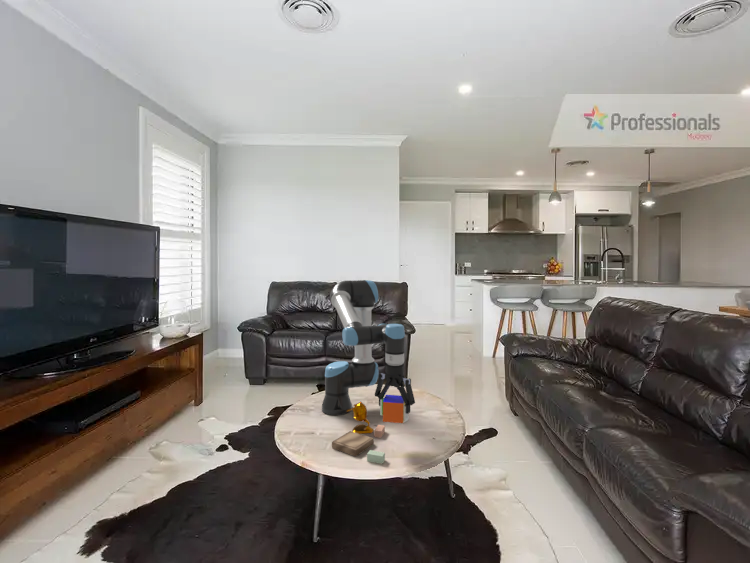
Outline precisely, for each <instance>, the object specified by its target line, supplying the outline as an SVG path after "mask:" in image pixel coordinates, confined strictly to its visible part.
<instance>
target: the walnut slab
mask: <svg viewBox="0 0 750 563" xmlns="http://www.w3.org/2000/svg"><path fill="white" fill-rule="evenodd" d="M374 439H375V437H371V436H368V435H366V434H358V433H355V432H352V430H350V431H348V432H346V433H345V434H343V435H341V436H339V437H338V438H336V439H335V440H333V441H331V448H332V449H334V450H336V451H339V452H342V453H345V454H347V455H350V456H353V457H357V456H359V455H360V454H362V453H363V452H366V450H367V449H369V448H371V447H372V446H374V445H375V444H374V442H375V440H374Z"/></svg>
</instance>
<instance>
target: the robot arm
mask: <svg viewBox="0 0 750 563" xmlns="http://www.w3.org/2000/svg"><path fill="white" fill-rule="evenodd" d="M378 290H379V289H378V287H377V284H376V283H375V282H374V281H373V280H369V279H368V280H366V279H363V280H362V279H360V280H359V279H358V280H342V281H340V282H337V283H336V284H335V285H334V286H333V287H332V288H331V290H330V294H329V300H330V303H331V306H332V307H333V308H335V309H336V312H337V314H338V317H339V319H340V321H341V323H342V324H341V325H343V326H342V327H343V329H342V331H341V332H342V335H341V336H342V343H343V345H344V346H347V347H348V346H353V347H354V357H353V358H352V359H351V364H349V362H348V361H345V360H343V361H342V360H340V361H339V360H338V361H334V362H331V363H329V364H328V365H326V367H325V372H324V382H325V383H324V385H325V386H324V392H325V394H324V398H323V401H322V405H321V412H323V413H324V414H327V415H330V416H341V415H345V414H348V413H350V412H351V411H352V410H353V409H352V408H353V403H352V401H351V397H350V395H349V394H350V393H349V389H353V388H361V387H363V388H364V387H370V386H371V387H372V386H374V385H376V389H375V392H374V396H375V397H376V398H378V406H379V407H380V409H379V415H380V416H383V401H384V398H385V396H386V395H387V392H388V391H389V389H390V387H394V388H396V389H397V390H398V392H399V394H400V396H402V398H403V401H404V403H405V405H404V409H403V423H406V422H408V421H409V414H410V413H411V406H413V405H414V404H415V403H416V401H415V400H416V399H415V395H414V392H413V388H412V378H411V377H410V378H406V377H405V375H404V374H405V336H406V333H405V326H404V325H403V324H401V323H388V324H387V323H380V324H378V325H372V310H373V309H374V308H375V304H376V303H378V301H379V291H378ZM380 344H384V345H385V353H384V356H385V358H384V359H385V364H384V366H385V367H384V371H385V373H384V372H381V373H379V371H380V370H379V365H378V363H377V362H376V361H375V358H374V357H372V356H373V355H372V352H373V350H372V348H373V347H372V345H380ZM384 381H386V382H385V383H384ZM376 383H377V384H376ZM350 409H352V410H350ZM347 410H350V411H348V412H347Z"/></svg>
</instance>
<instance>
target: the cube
mask: <svg viewBox="0 0 750 563" xmlns="http://www.w3.org/2000/svg"><path fill="white" fill-rule="evenodd" d="M383 398H384V401H383V415H382V422H383V423H392V424H404V422H403V409H404V405H405V403H404V401H403V398H402V396H401V395H398V394H396V395H395V394H385V395H384V397H383Z"/></svg>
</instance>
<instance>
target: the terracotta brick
mask: <svg viewBox="0 0 750 563" xmlns="http://www.w3.org/2000/svg"><path fill="white" fill-rule="evenodd" d="M385 429H386V426H385V425H383V424H377V426H376V427H375V429H373V430H374V431H373V432H374V435H373V436H374V437H373V438H378V439H379V438H380V439H381V438H382V437H383V435H385V433H386V430H385Z"/></svg>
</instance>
